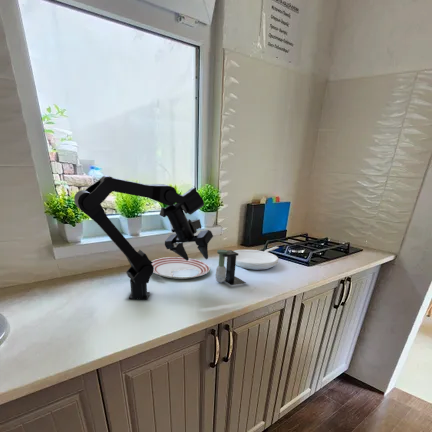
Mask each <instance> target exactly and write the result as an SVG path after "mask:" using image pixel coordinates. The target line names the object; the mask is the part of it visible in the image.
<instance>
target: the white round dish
mask: <svg viewBox="0 0 432 432" xmlns="http://www.w3.org/2000/svg"><path fill="white" fill-rule="evenodd" d="M279 248H280V247H279V246H273V247H270V248H267V249H264V250H258V249H236V250H233V251H234V252H236V253H238V256H236V265H235V267H236V266H237V267H238V268H239V267H240V268H241V269H245V270H247V269H248V270H257V271H261V270H268V269H271V268H273V267H275V266H276V265H277V264H278V263H279V257H278V256H277V255H276V254H273V253H271V251H274V250H277V249H279Z"/></svg>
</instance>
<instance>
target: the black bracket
mask: <svg viewBox="0 0 432 432" xmlns="http://www.w3.org/2000/svg"><path fill="white" fill-rule="evenodd" d="M226 250H227V254H223V256H224V257H225V258H226V266H225V268H226V278H225V281H224V283H227V284H228V285H230V286H236V285H242V284H247V282H246V281H244V280H242V279H240V278H239V277H237V276H235V274H236V256H238V253H236V252H234V251H235V250H232V249H226Z"/></svg>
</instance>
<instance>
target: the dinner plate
mask: <svg viewBox="0 0 432 432" xmlns="http://www.w3.org/2000/svg"><path fill="white" fill-rule="evenodd" d="M188 258H189V260H188V261H187V260H185V259H184V258H182V257H181V256H167V257H166V256H165V257H160V258H156V259H153V260H151V261H152V262H153V263H151V264H152V265H153V267H154V270H153V274H155V275H157V276H160V277H163V278H168V279H172V280H173V279H174V280H187V279H188V280H189V279H195V278H198V277H199V278H200V277H201V276H204V275H206V274H208V273H210V271H211V267H210V265H209V264H207V263H206V262H204V261H202V260H198V259H195V258H190V257H188ZM188 270H195V271H197V272H198V273H197V274H195V275H193V276H192V275H191V276H174V273H173V272H179V271H188Z"/></svg>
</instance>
